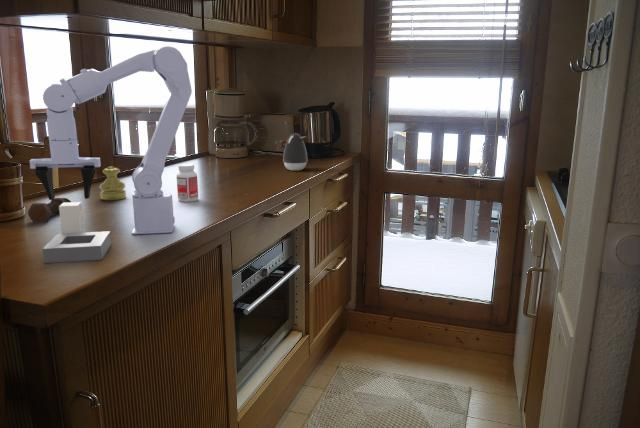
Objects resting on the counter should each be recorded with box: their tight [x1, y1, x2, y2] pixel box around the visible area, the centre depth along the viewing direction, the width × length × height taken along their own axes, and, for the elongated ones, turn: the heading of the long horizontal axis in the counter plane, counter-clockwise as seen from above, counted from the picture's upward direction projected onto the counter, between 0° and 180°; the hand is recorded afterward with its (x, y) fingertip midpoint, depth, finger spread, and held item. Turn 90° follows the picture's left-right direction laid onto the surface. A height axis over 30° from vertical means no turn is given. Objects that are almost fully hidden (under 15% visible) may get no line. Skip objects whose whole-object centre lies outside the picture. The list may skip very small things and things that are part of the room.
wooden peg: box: [59, 201, 86, 234], centre depth 124 cm, size 4×4×8 cm
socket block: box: [42, 230, 112, 264], centre depth 113 cm, size 11×11×3 cm
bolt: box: [27, 197, 72, 224], centre depth 144 cm, size 6×5×15 cm
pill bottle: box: [176, 163, 199, 203], centre depth 162 cm, size 6×6×11 cm
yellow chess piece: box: [99, 165, 127, 202], centre depth 165 cm, size 7×7×10 cm
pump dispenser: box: [282, 132, 308, 172], centre depth 220 cm, size 10×10×15 cm
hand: (69, 198), depth 122 cm, fingers open, 7 cm apart
